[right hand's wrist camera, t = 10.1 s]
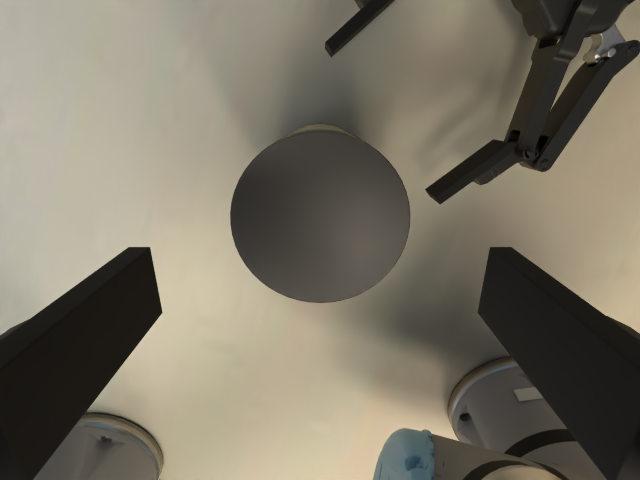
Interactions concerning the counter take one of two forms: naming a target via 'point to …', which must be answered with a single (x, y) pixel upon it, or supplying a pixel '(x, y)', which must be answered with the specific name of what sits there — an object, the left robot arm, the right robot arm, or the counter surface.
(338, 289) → the lid
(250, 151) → the counter surface
